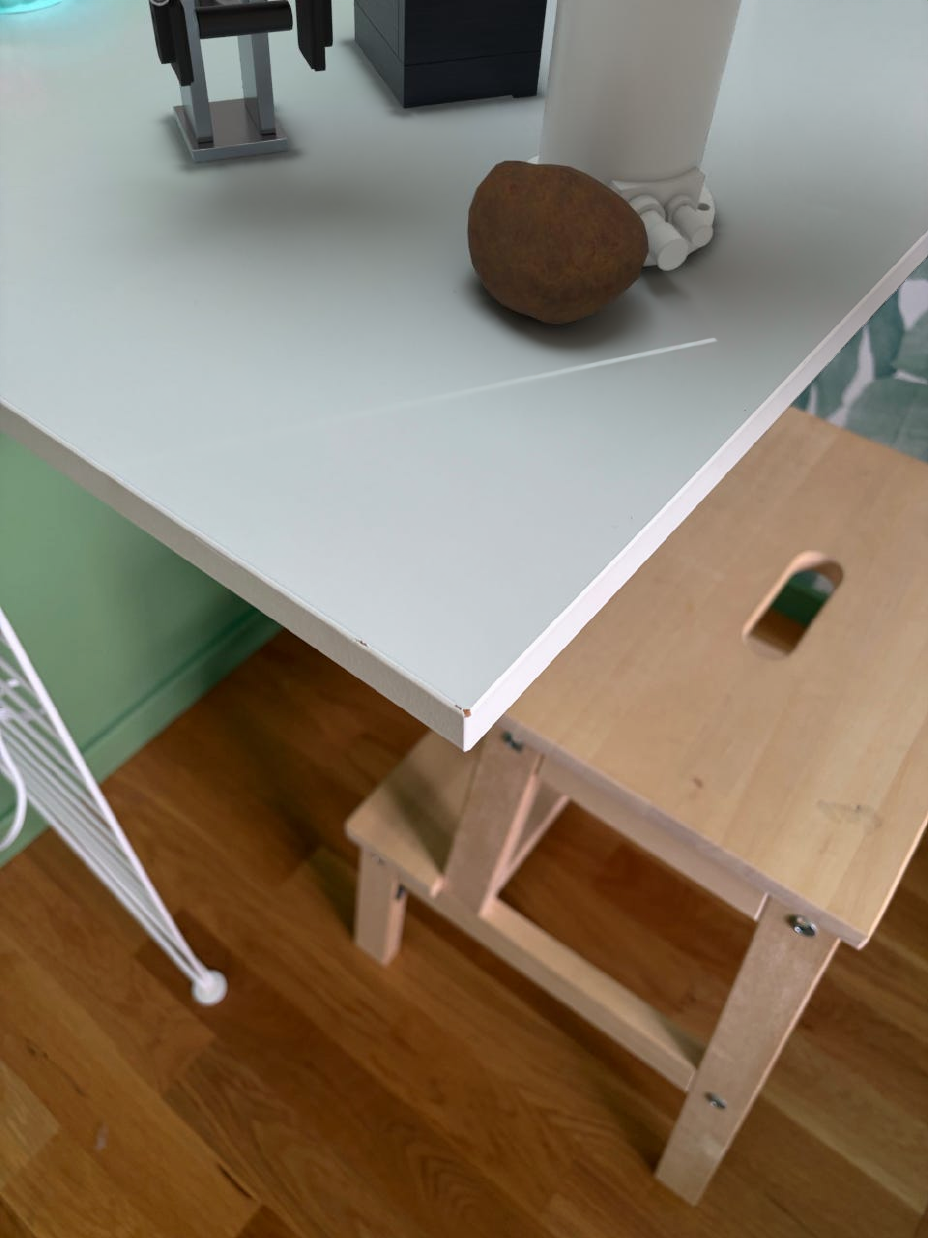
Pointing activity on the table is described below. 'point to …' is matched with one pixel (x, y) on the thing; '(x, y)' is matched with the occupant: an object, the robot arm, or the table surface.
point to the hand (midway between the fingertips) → (248, 64)
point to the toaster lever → (240, 18)
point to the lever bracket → (230, 104)
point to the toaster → (452, 47)
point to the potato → (553, 241)
